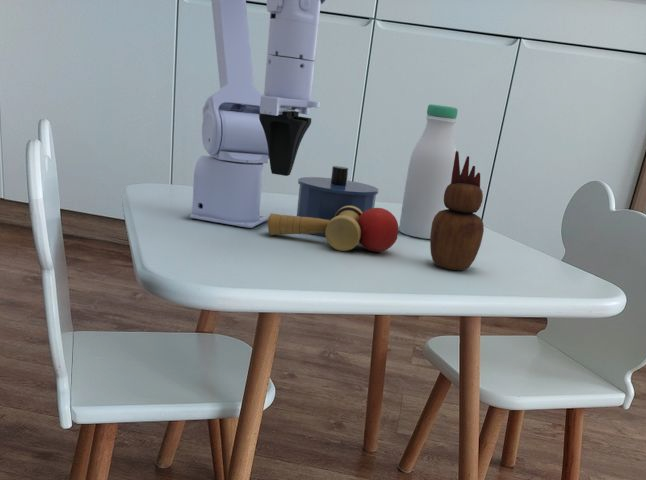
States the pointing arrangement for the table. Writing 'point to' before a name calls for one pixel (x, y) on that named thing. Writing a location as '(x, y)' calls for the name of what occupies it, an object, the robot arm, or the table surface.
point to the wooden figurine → (458, 221)
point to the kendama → (343, 228)
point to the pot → (329, 203)
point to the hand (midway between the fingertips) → (280, 174)
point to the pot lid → (338, 183)
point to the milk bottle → (429, 172)
